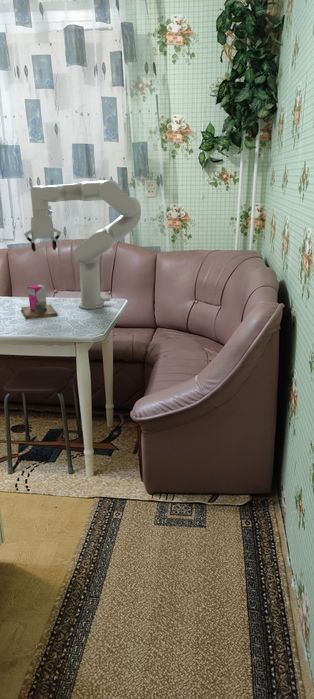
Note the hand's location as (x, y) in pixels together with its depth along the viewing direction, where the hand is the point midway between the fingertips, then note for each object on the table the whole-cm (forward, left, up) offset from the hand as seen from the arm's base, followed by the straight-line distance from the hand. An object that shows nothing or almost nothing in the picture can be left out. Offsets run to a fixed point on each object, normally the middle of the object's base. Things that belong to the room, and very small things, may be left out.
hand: (44, 250), depth 245 cm
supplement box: (+7, +12, -26) cm, 30 cm away
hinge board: (+7, +12, -27) cm, 31 cm away
